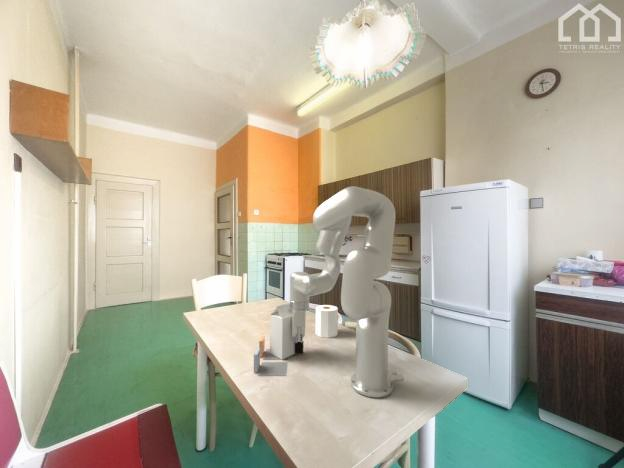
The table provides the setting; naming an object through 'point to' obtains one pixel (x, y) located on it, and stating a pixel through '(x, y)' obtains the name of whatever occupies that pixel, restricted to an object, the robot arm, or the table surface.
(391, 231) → the robot arm
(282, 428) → the table surface
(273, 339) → the milk carton
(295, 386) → the table surface
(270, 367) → the tag station
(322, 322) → the toilet paper
